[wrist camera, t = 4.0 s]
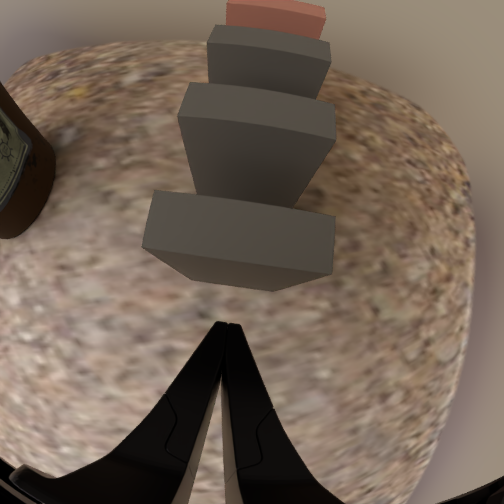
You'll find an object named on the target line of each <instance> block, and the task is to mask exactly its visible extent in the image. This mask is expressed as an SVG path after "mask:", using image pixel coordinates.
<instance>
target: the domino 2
mask: <svg viewBox="0 0 504 504" xmlns="http://www.w3.org/2000/svg"><path fill="white" fill-rule="evenodd" d="M177 117H178V121H179V125H180V129H181V134H182V138H183V142H184V146H185V150H186V154H187V158H188V162H189V166H190V170H191V173H192V177H193V181H194V185H195V189H196V192H197V195H203V196H211V197H218V198H226V199H233V200H240V201H247V202H254V203H260V204H267V205H273V206H279V207H285V208H291V209H292V208H293V206H294V205H295V203H296V202H297V200H298V198H299V197H300V195H301V194H302V192H303V191H304V189H305V188H306V186H307V185H308V183H309V182H310V180H311V178H312V177H313V175H314V174H315V172H316V171H317V169H318V168H319V166H320V165H321V163H322V161H323V160H324V158H325V157H326V155H327V154H328V152H329V151H330V149H331V147H332V146H333V144H334V143H335V141H336V118H335V104H331V103H327V102H323V101H319V100H315V99H311V98H306V97H302V96H297V95H292V94H287V93H282V92H276V91H270V90H264V89H257V88H250V87H242V86H234V85H224V84H212V83H197V82H190V83H189V86H188V88H187V91H186V94H185V96H184V99H183V102H182V104H181V107H180V110H179V113H178V115H177Z"/></svg>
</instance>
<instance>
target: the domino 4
mask: <svg viewBox="0 0 504 504" xmlns="http://www.w3.org/2000/svg"><path fill="white" fill-rule="evenodd" d="M226 10H227V11H226V25H229V26H241V27H251V28H259V29H266V30H273V31H279V32H285V33H290V34H295V35H300V36H305V37H309V38H313V39H318V40H319V38H320V35H321V32H322V29H323V26H324V24H325V21H326V15H325V8H324V7H320V6H317V5H312V4H308V3H303V2H298V1H294V0H228V2H227V9H226Z"/></svg>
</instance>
